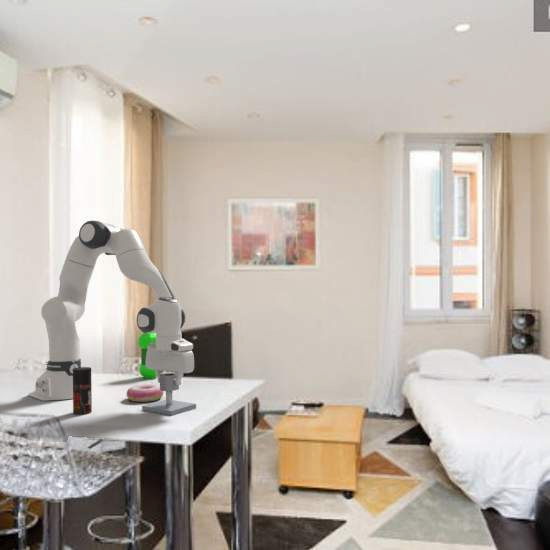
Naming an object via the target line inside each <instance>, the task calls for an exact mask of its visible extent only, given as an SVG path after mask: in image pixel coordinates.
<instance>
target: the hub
mask: <svg viewBox="0 0 550 550" xmlns="http://www.w3.org/2000/svg"><path fill="white" fill-rule="evenodd" d="M177 376H178V375H176V372H168V373H165V372H164V373H162V374H160V383H159V386H160V390H161V391H163V392H166V391H172V392H175V391H177V390H179V389H180V385H175V384H174V383H175V382H174V380H176V379H177Z"/></svg>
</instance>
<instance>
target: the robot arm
mask: <svg viewBox="0 0 550 550" xmlns="http://www.w3.org/2000/svg"><path fill="white" fill-rule="evenodd" d="M78 231H79V232H78V236H76V237H75V238H74V240H73V242H72V244H71V245H70V247H69V250H68V252H67V255H66V257H65V260H64V263H63V265H62V269H61V270H60V271H61V272H60V275H59V277H58V278H59V289H58V293H57V296H53V297H51V298H49V299H48V300H47V301H45V302H44V303H43V305H42V307H41V313H40V314H41V317H42V319H43V320H44V323H45V324H44V325H45V327H46V332H47V337H48V355H49V357H48V358H49V359H48V361H45V362H44V363H45V364H44V365H46V368H45V369H46V370H45V371H44V372H43V373H42V374H41V375H40V376H39V377H38V378H37V379H36V381H35V385H34V386H35V388H34V391H31V392H29V393H28V396H29V397H32V398H35V399H37V400H40V401H42V402H45V401H61V400H64V401H65V400H70V399H71V400H73V369H74V368H79V367H82V359H81V358H80V355H81V353H80V349H81V348H80V337H79V336H78V331H77V326H76V322H77V321H79V320H80V319H81V318H82V317H83V315H84V314H85V310H86V307H85V305H86V301H87V300H86V299H87V295H88V288H89V285H90V281H91V278H92V275H93V272H94V270H95V266H96V264H97V261H98V258H99V257H100V255H102V254H105V255H106V256H115V259H116V262H117V265H118V268H119V270H120V272H121V273H122V275H123V277H125V278H127V279H129V280H131V281H134V282H137V283H140V284H143V285H145V286H147V287H149V288H150V289H151V290H152V291H153V292H154V294H155V296H156V298H157V299H156V301H154V303H152V304H150V305H148V306H144V307H142V308H141V309H139V311H138V312H137V315H136V325H137V328H138V329H139V331H141V332H142V334H143V333H156V343H150V344H149V345H148V347H147V353H146V367H147V369H153V370H155V373H156V375H157V376H156V378H157V382H158V384H160V374H163V372H170V373H176V375H178V376H177V379H176V380H174V382H175V383H174V384H175V385H179V386H180V385H181V384H182V378H183V377H184V374H189V373H192V372H194V369H195V356H194V352H193V351H192V350H193V349H194V343H192V342H190V341H188V340H187V339H185V338H182V337H183V336H182V335H183V334H182V331H181V329H182V328H183V327H184V324H185V322H186V313H185V311H184V310H183V308H182V306H181V304H180V301H179V299H177V298H176V297H175V296H174V294H173V292H172V290H171V288H170V286H169V284H168V282H167V280H166V278H165V276H164V274H163V273H162V271H161V270H160V269H159V268H157V267H156V265H154V263H153V262H152V260H151V259H150V258H149V255H148V253H147V251H146V248H145V244H144V243H143V241H142V239H141V237H140V236H139V234H138V232H137V231H136V230H134V229H132V228H120V227H118V226H116V225H114V224H110V223H105V222H101V221H99V220H87V221H86V222H84V223H83V224H82V225H81V226H80V229H79V230H78ZM150 345H151V346H150Z"/></svg>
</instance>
